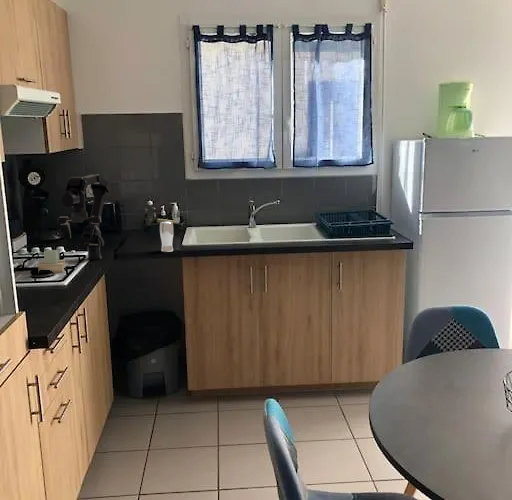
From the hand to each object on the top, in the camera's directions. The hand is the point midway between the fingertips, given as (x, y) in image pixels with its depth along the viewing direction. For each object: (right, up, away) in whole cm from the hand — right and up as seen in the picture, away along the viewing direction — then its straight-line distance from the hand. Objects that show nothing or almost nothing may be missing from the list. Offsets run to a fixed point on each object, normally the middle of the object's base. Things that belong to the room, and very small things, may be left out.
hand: (80, 238), depth 265 cm
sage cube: (-9, -11, -11) cm, 18 cm away
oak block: (-9, -15, -11) cm, 20 cm away
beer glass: (+35, -6, +34) cm, 49 cm away
